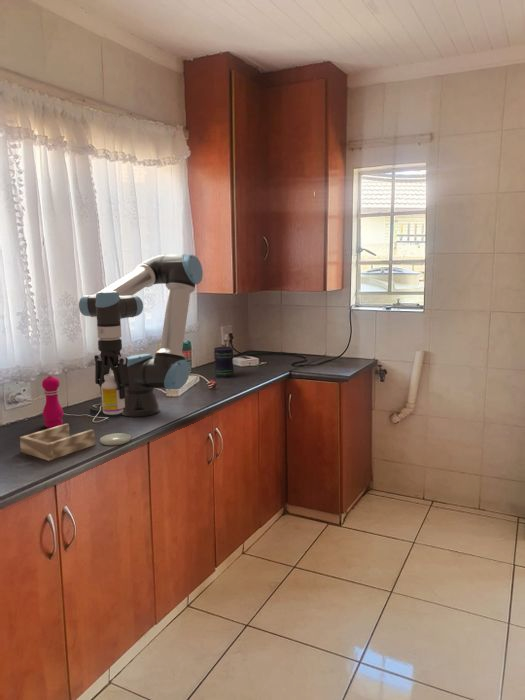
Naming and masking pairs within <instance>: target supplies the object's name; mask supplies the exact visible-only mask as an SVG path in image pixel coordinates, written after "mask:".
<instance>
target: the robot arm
mask: <svg viewBox="0 0 525 700" xmlns="http://www.w3.org/2000/svg"><path fill="white" fill-rule="evenodd" d="M203 273H204V272H203V265H202V263H201V261H200V259H199V257H197V256H196V255H194V254H187V253H184V254H160V255H156V256H153V257H151V258H149V259H147V260H145V261H143V262H141V263H140V264H138V265H137V266H136V267H135V268H134V270H133V271H132V272H130V273H128V274H126V275H125V276H123V277H121V278H120V279H118V280H116V281H115V282H114V283H111V284H110V285H109V286H106V287H105V288H103V289H102V290H100V291H98V292H96V293H95V294H87V295H82V296H81V297H80V299H79V302H78V309H79V311H80V313H81V314H82V315H83V316H85V317H91V318H96V327H97V338H98V340H97V346H98V348H97V349H98V351H99V352H100V353H99V354H96V355H95V354H94V358H93V359H94V362H95V365H94V366H95V369H94V370H95V371H94V373H95V377H94V378H95V379H94V383H95V384H96V385H98V386H99V388H100V395H101V396H102V384H103V383H104V382H105V380H104V375H106V374H110V371H112V372H113V373H112V374H114V377H115V380H116V384H117V387H118V388H117V389H116V397H117V409H121V408H123V412H122V414H121V415H123V416H125V417H132V418H133V417H137V418H138V417H145V416H146V417H147V416H152V415H155V414H157V413H158V412H159V411H160V406H159V405H160V404H159V403H158V401H157V400H158V399H157V397H156V395H155V390H154V389H158V390H159V389H161V390H168V391H171V390H173V391H174V390H175V391H176V390H180V389H182V388H183V387H184V386H185V385H186V383H187V382H188V379H189V376H190V365H189V362H188V361H186V356H185V355H184V353H183V346H184V340H185V333H186V327H187V320H188V312H189V305H190V299H191V298H190V297H191V294H192V293H193V292H194V291H195V289H196V285H199V284H201V281H203V277H204V276H203V275H204V274H203ZM160 284H161V285H162V284H165V287H166V288H167V290H168V291H167V293H168V294H167V298H166V299H167V300H166V307H165V312H164V313H165V314H164V320H163V326H162V327H163V328H162V334H161V339H160V340H161V341H160V345H159V346H160V348H159V350H157V351H156V352H155V353H154V354H155V355H154V358H153V354H151V353H141V354H134V355H130V356H126V357H123V356H122V355H121V350H122V349H123V343H122V339H121V337H122V323H121V321H122V319H129V318H134V317H138V316H140V315H141V314H142V313H143V312H144V311H143V310H144V302H143V301H142V299H141V297H139V296H138V295H135V294H137V293H138V292H140V291H141V290H142V289H145V288H151V287H153V286H154V285H160ZM101 406H102V407H103V403H102V402H101Z"/></svg>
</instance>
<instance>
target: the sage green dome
mask: <svg viewBox="0 0 525 700" xmlns="http://www.w3.org/2000/svg"><path fill="white" fill-rule="evenodd" d="M131 440H132V437H131V435H130V434H128V433H123V432H120V433H119V432H117V433H115V432H114V433H108V434H105V435H103V436H101V437H100V439H99V441H100V442H99V443H100V444H101V445H102V446H103V445H104V446H120V445H125V444H127V443H129V442H131Z"/></svg>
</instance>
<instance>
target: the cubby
mask: <svg viewBox="0 0 525 700" xmlns="http://www.w3.org/2000/svg"><path fill="white" fill-rule="evenodd" d="M95 441H96V439H95V430H94V429H88V430H85V431H82V432H79V433H75V434H72V435H71V434H70V424H69V423H63V424H62V425H59V426H56V427H52V428H46V429H42V430H39V431H35V432H32V433H29V434H26V435H25V434H24V435H23V436H19V443H20V444H19V445H20V453H23V454H26V455H28V456H29V455H30V456H33V457H35V458H39V459H43V460H45V461H49V462H50V461H52V460H55V459H58V458H61V457H64V456H67V455H69V454H72V453H74V452H75V453H76V452H79V451H81V450H84V449H87V448H89V447H93V446H95V445H96V442H95Z"/></svg>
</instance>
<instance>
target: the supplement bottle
mask: <svg viewBox="0 0 525 700" xmlns="http://www.w3.org/2000/svg"><path fill="white" fill-rule="evenodd" d="M104 380H105V382H104V383H103V384H102V395H101V404H102V403H103V406H102V412H103V414H104V415H110V416H111V415H118V414H121V413H122V412H123V408H121V409H117V397H116V389H117V388H118V387H117V384H116V380H115V377H114V373H109V374H106V375H104Z"/></svg>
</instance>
